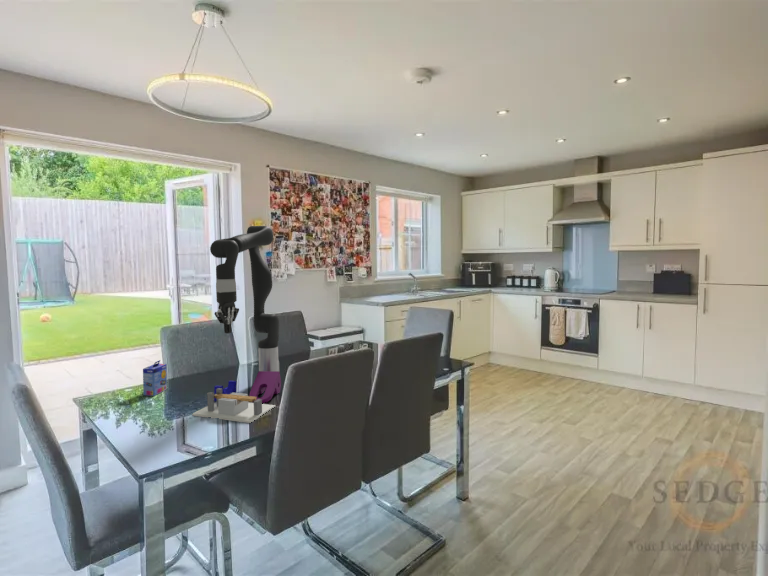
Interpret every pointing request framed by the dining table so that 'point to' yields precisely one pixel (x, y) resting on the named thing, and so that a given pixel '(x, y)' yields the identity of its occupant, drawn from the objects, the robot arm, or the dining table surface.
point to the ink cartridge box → (154, 379)
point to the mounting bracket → (266, 385)
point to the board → (237, 417)
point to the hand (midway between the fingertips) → (228, 333)
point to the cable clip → (227, 388)
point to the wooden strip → (235, 397)
